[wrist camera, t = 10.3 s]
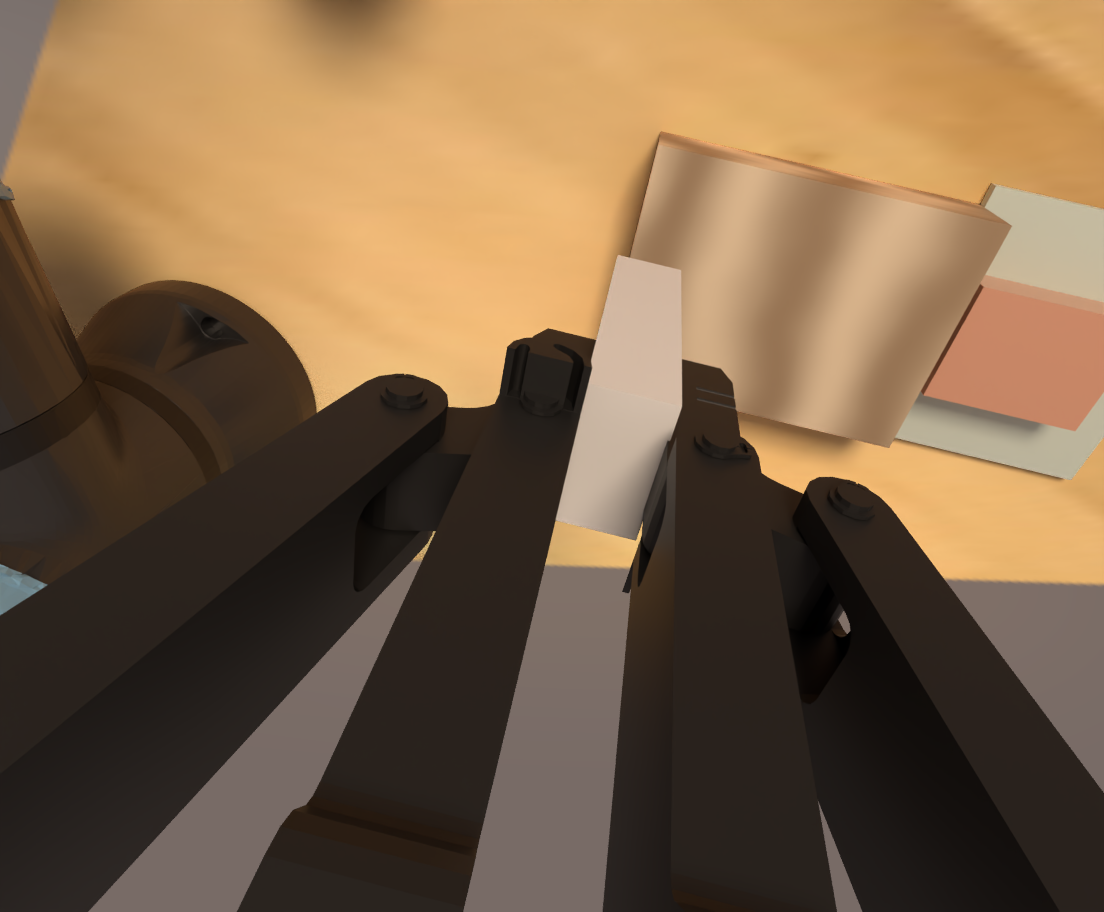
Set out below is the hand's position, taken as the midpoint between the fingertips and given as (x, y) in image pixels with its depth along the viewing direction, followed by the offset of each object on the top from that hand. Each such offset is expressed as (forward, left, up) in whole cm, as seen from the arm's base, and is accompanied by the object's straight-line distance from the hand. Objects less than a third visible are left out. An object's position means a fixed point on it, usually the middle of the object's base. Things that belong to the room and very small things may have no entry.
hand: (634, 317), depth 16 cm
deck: (+5, -8, -22) cm, 24 cm away
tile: (+16, -13, -22) cm, 30 cm away
